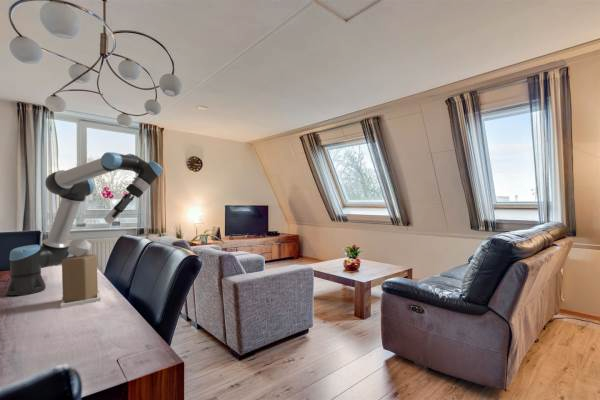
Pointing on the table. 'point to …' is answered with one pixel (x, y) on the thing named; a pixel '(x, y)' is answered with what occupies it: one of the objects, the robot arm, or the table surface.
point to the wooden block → (79, 278)
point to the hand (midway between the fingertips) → (106, 221)
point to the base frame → (80, 301)
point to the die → (79, 247)
